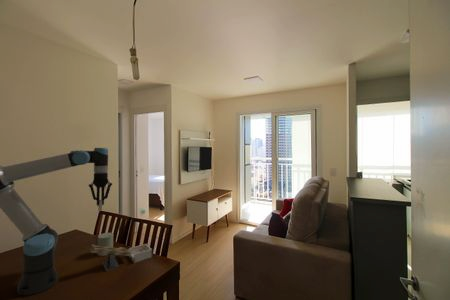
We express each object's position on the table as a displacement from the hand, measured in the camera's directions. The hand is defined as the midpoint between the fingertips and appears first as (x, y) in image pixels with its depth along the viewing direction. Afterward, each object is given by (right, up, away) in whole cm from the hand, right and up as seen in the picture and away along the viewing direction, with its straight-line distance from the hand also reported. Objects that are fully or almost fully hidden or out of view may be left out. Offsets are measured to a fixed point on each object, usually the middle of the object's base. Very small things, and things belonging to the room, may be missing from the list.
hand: (100, 210), depth 131 cm
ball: (+23, -29, +4) cm, 38 cm away
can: (-2, -31, +9) cm, 32 cm away
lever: (+8, -24, -5) cm, 26 cm away
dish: (+23, -31, +4) cm, 39 cm away
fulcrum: (+10, -31, -7) cm, 33 cm away
